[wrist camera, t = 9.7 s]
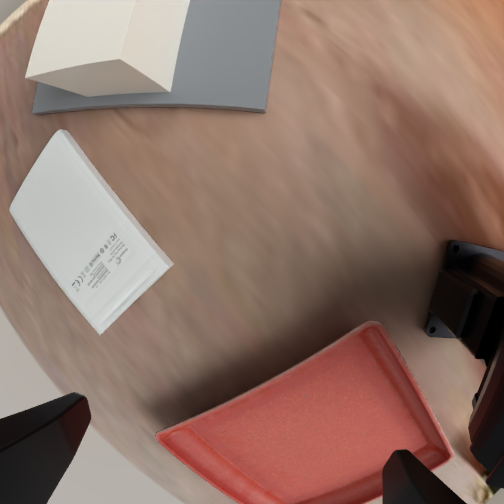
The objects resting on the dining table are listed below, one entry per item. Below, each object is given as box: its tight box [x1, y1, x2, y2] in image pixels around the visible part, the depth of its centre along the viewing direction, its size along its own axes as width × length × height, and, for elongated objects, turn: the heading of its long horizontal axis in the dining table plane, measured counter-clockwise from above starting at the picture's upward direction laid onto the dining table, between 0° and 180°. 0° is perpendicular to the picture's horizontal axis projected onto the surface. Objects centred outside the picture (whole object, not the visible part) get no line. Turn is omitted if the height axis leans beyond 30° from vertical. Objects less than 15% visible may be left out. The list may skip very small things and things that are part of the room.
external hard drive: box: [9, 129, 174, 335], centre depth 19 cm, size 2×8×12 cm
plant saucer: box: [155, 320, 454, 504], centre depth 20 cm, size 18×18×3 cm
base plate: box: [32, 0, 281, 115], centre depth 14 cm, size 17×11×4 cm, turn 83°
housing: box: [25, 0, 190, 97], centre depth 12 cm, size 10×6×6 cm, turn 173°
